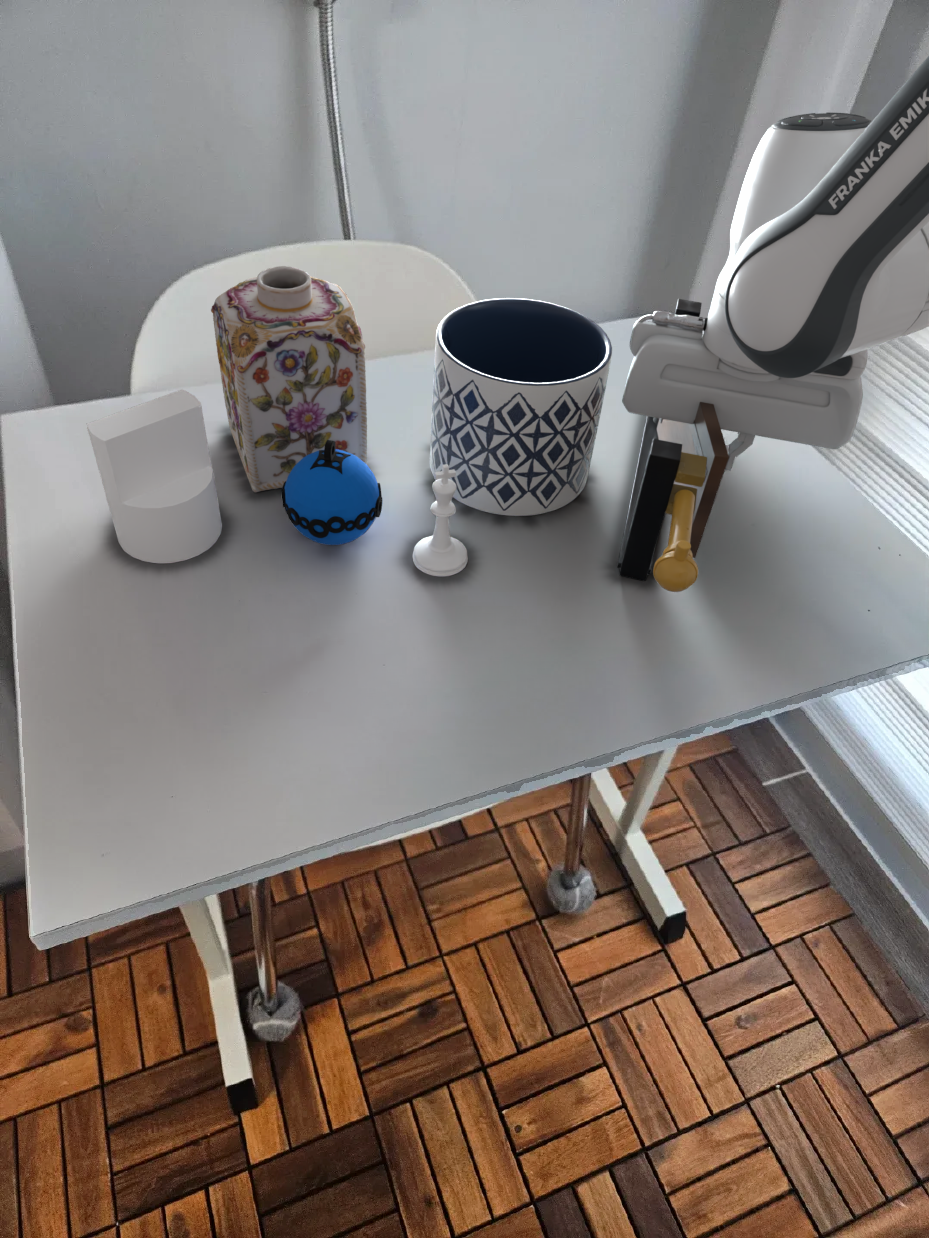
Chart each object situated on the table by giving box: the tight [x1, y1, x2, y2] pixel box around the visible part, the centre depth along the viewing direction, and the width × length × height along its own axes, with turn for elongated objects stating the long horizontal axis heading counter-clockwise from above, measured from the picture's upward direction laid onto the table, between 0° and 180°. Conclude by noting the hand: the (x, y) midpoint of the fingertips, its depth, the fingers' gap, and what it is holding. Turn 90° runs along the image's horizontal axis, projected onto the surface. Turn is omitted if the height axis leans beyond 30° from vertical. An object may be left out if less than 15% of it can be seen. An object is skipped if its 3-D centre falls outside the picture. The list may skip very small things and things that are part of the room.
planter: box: [429, 297, 613, 517], centre depth 84 cm, size 16×16×14 cm
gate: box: [653, 315, 729, 559], centre depth 84 cm, size 23×2×12 cm, turn 178°
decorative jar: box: [210, 265, 368, 493], centre depth 83 cm, size 12×12×18 cm
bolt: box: [652, 490, 699, 593], centre depth 67 cm, size 11×3×4 cm, turn 166°
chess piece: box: [412, 464, 469, 577], centre depth 76 cm, size 5×5×10 cm
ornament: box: [280, 440, 383, 546], centre depth 77 cm, size 9×9×10 cm
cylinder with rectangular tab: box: [86, 388, 223, 564], centre depth 75 cm, size 9×9×12 cm
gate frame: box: [616, 298, 707, 582], centre depth 84 cm, size 29×5×13 cm, turn 166°
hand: (718, 465), depth 84 cm, fingers closed
